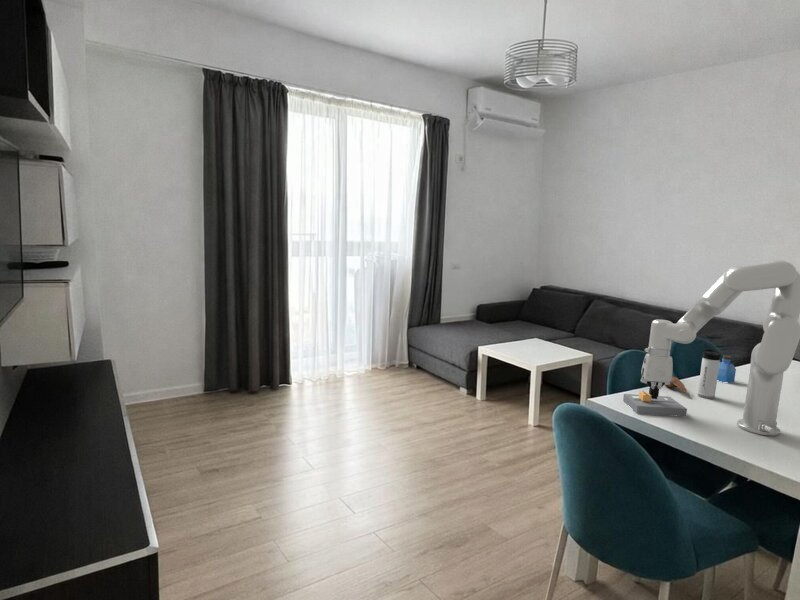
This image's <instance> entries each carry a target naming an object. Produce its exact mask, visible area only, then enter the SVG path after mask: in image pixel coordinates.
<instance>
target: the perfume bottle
mask: <svg viewBox="0 0 800 600" xmlns="http://www.w3.org/2000/svg"><path fill="white" fill-rule="evenodd" d="M731 358H732V357H731V356H730V355H726V354H723V355H722V358H721V361H720V363H719V370H718V377H717V380H719V381H718V382H720V381H723V382H731V383H735V379H736V374H737V373H736V371H737V369H736V367H735V365H734V363H730V362H731V361H732V359H731ZM723 382H722V383H723Z"/></svg>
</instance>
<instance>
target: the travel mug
mask: <svg viewBox="0 0 800 600" xmlns="http://www.w3.org/2000/svg"><path fill="white" fill-rule="evenodd" d="M720 362H721V352H719V351H717V350H713V349H711V348H705V349H704V350H703V353H702V358H701V365H700V375H699V381H698V389H697V397H700V398H702V397H703V399H706V398H708V399H707V400H714V399H715V398H716V389H717V383H718V381H717V377H718V370H719V363H720Z"/></svg>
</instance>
